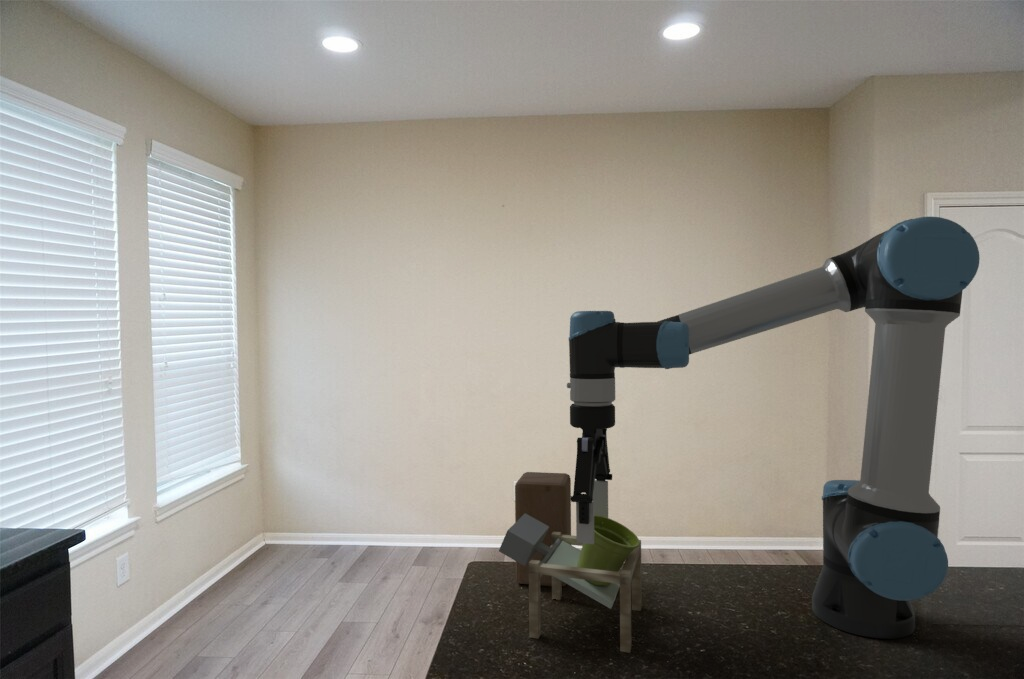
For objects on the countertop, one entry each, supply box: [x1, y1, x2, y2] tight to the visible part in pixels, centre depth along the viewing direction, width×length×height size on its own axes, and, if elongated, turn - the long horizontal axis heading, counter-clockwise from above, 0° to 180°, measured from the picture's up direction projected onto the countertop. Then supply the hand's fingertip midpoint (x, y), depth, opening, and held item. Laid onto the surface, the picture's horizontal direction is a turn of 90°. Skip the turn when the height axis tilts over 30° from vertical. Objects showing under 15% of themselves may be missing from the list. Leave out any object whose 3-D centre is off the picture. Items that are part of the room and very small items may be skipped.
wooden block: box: [514, 471, 572, 587], centre depth 121 cm, size 10×10×20 cm
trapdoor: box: [498, 514, 620, 610], centre depth 104 cm, size 20×12×4 cm, turn 72°
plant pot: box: [577, 515, 640, 586], centre depth 101 cm, size 9×9×9 cm
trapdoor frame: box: [528, 532, 643, 654], centre depth 103 cm, size 16×16×12 cm
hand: (593, 529), depth 102 cm, fingers open, 13 cm apart
